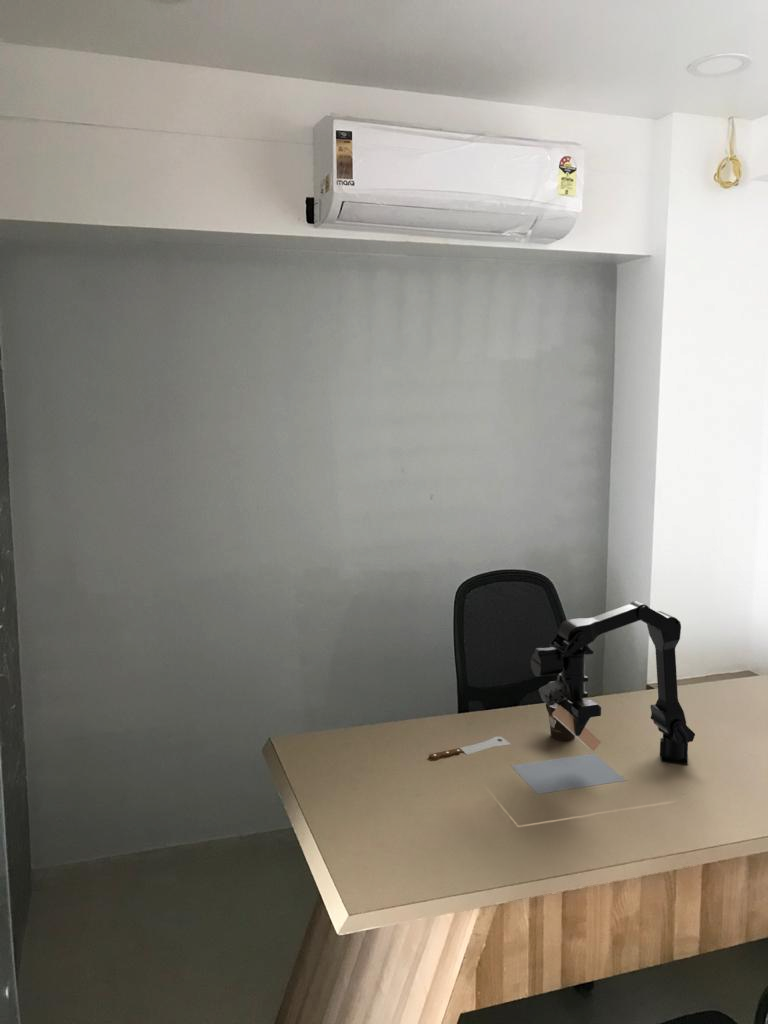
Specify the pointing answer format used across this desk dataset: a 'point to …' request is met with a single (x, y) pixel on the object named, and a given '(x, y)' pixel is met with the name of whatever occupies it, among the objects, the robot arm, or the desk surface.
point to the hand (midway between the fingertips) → (572, 731)
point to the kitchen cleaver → (470, 748)
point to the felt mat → (567, 773)
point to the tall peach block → (568, 723)
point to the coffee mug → (558, 726)
